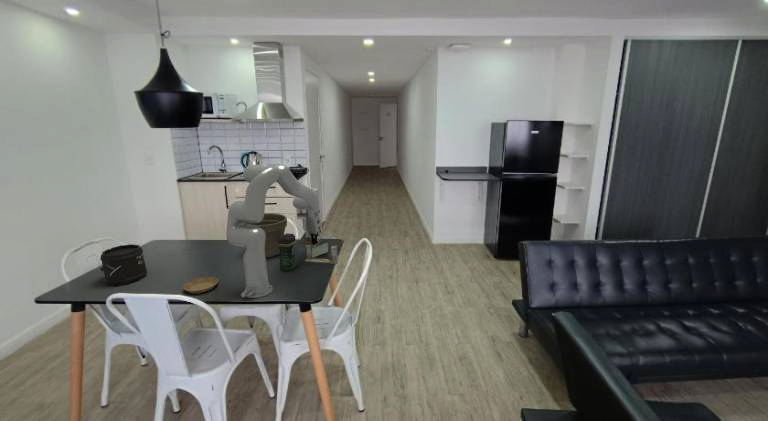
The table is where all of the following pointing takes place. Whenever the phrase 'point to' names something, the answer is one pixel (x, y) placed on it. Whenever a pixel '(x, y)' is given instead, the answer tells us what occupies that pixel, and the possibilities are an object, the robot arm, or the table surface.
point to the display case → (302, 215)
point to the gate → (319, 250)
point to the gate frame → (331, 259)
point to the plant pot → (271, 231)
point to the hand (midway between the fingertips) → (314, 243)
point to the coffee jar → (287, 252)
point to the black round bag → (123, 264)
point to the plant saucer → (200, 285)
